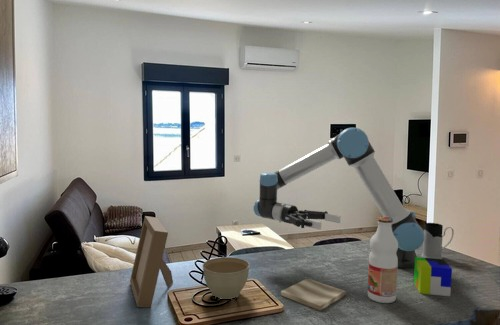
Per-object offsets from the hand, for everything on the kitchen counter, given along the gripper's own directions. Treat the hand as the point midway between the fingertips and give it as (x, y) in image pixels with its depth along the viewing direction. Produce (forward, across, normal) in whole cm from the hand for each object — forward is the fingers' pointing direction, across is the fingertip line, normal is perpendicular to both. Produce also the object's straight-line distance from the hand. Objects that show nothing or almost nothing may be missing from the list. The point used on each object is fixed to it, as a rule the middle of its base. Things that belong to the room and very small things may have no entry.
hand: (330, 222), depth 144 cm
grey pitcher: (+20, -61, -23) cm, 68 cm away
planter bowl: (-19, +36, -23) cm, 47 cm away
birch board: (+3, +14, -23) cm, 27 cm away
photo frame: (-38, +52, -23) cm, 68 cm away
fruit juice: (+21, -1, -23) cm, 31 cm away
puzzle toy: (+31, -21, -23) cm, 43 cm away
